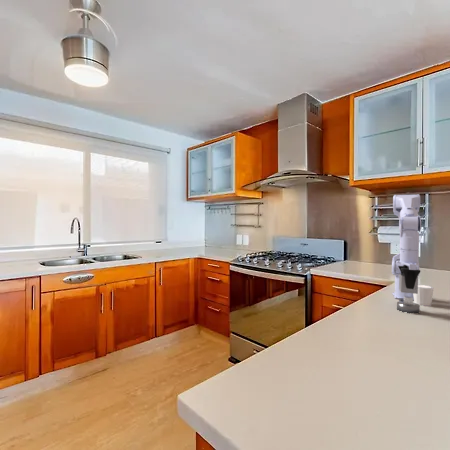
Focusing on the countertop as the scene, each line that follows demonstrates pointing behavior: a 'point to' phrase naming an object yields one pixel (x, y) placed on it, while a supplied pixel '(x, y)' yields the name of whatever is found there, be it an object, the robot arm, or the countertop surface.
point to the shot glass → (424, 295)
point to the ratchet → (408, 305)
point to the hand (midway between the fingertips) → (408, 287)
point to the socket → (403, 286)
